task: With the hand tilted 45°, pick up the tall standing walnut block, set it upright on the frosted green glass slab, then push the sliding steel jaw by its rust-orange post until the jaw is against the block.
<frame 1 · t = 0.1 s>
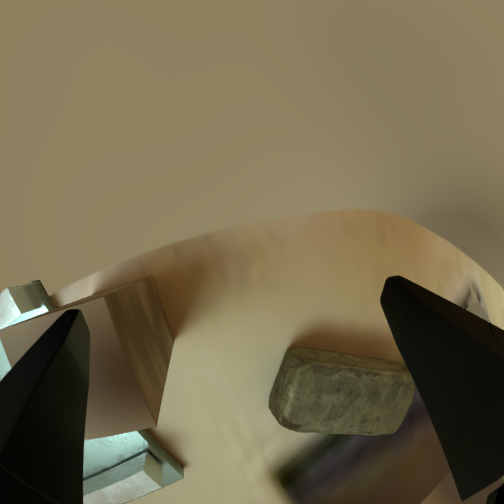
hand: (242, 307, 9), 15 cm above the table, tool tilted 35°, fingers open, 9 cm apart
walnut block: (132, 318, 22), on the table
frosted green glass slab: (33, 370, 20), on the table
stone block: (333, 382, 25), on the table
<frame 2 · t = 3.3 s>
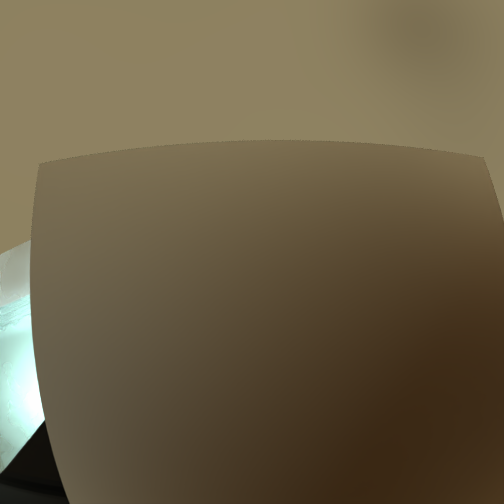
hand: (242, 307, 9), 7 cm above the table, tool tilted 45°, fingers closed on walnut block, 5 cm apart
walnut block: (228, 345, 15), on the table, touching gripper
frosted green glass slab: (36, 391, 13), on the table
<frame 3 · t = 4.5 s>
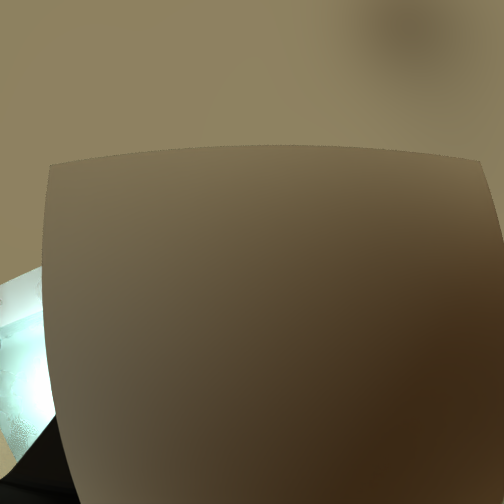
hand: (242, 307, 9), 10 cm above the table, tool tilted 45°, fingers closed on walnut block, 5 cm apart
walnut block: (227, 345, 15), point 3 cm above the table, touching gripper
frosted green glass slab: (60, 381, 16), on the table
when the fingers open (9 cm above the table, at t = 7.1 s): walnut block drops 1 cm, resting on frosted green glass slab.
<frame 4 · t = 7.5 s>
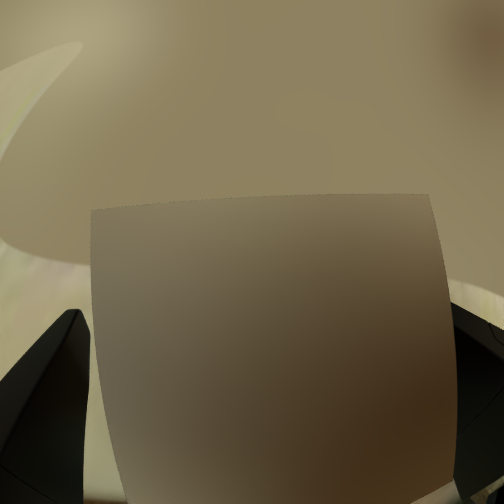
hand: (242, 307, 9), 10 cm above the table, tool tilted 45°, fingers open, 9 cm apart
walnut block: (226, 342, 16), point 2 cm above the table, touching frosted green glass slab
stone block: (476, 458, 18), on the table
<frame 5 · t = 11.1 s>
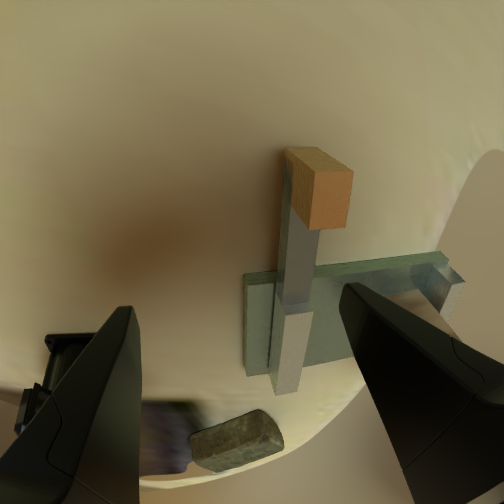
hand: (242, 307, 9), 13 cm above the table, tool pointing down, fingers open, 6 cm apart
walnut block: (391, 313, 29), point 1 cm above the table, touching frosted green glass slab
frosted green glass slab: (383, 303, 30), on the table
stone block: (231, 426, 38), on the table
sliding jaw: (298, 307, 22), point 4 cm above the table, slide at 0.0 cm
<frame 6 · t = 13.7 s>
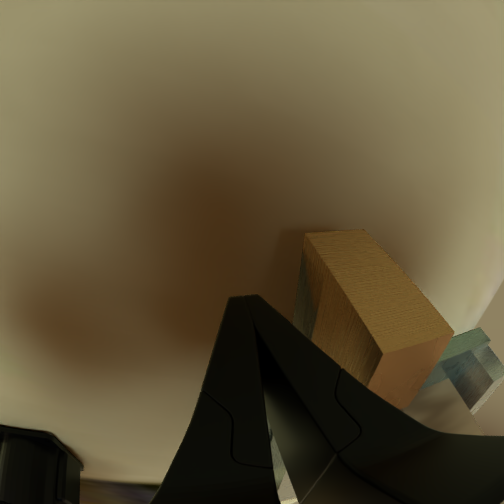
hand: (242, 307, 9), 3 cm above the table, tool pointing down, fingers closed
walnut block: (411, 406, 20), point 1 cm above the table, touching frosted green glass slab
frosted green glass slab: (402, 392, 21), on the table
sliding jaw: (308, 448, 13), point 4 cm above the table, slide at 1.0 cm, touching gripper
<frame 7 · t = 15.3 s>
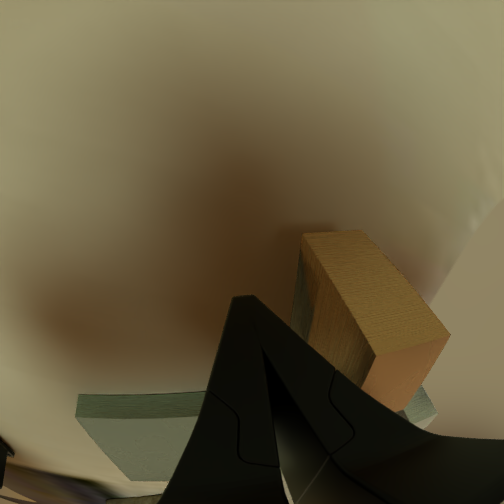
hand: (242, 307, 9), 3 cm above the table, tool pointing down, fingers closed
frosted green glass slab: (313, 419, 20), on the table
stone block: (150, 498, 28), on the table
sliding jaw: (306, 449, 13), point 4 cm above the table, slide at 8.5 cm, touching gripper, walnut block
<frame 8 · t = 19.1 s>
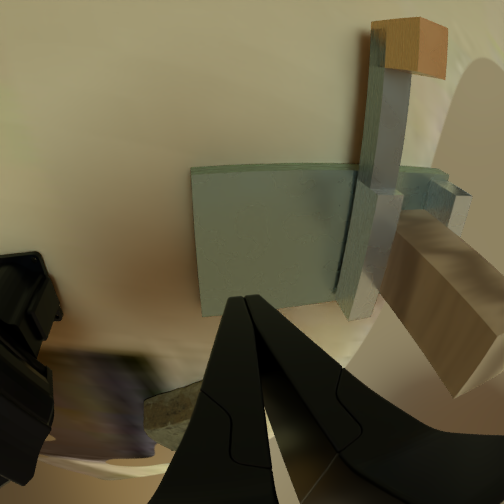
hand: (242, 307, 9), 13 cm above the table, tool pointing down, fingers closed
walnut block: (393, 238, 24), point 1 cm above the table, touching frosted green glass slab
frosted green glass slab: (374, 230, 25), on the table
stone block: (194, 394, 32), on the table
sliding jaw: (389, 188, 18), point 4 cm above the table, slide at 8.5 cm
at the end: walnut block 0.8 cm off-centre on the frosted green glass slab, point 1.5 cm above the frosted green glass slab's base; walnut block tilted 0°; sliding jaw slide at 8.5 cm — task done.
